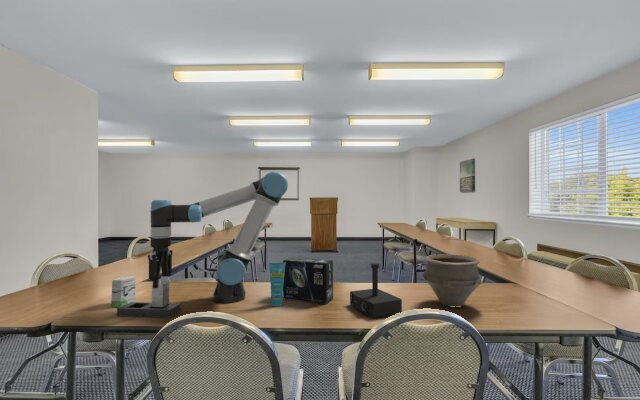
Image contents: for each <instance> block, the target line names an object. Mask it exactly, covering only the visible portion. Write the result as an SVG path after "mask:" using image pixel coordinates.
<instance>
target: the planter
mask: <svg viewBox="0 0 640 400" xmlns="http://www.w3.org/2000/svg"><path fill="white" fill-rule="evenodd" d="M424 260H425V261H426V265H425V271H424V272H423V273H422V278H423V279H424V280H425V281H426V283H427V284H428V285H429V286H430V288H431V289H432V291H433V292H434V294H435V296H436V297H437V299H438V300H439V301H440V303H441V305H442V306H444V305H446V306H445V307H447V306H455V307H456V306H462V305H463V306H464V304H466V301H467V300H468V298H469V297H470V296H471V295H472V294H473V293H474V292H475V290H476V289H477V288H478V287H479V286H480V285H481V284H483V282H482V276H481V275H480V272H479V268H478V264H480V260H479V259H477V258H475V257H472V256H470V255H465V254H464V255H463V254H449V253H440V254H430V255H427V256H425V257H424ZM463 306H462V307H463Z"/></svg>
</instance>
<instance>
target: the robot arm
mask: <svg viewBox="0 0 640 400" xmlns="http://www.w3.org/2000/svg"><path fill="white" fill-rule="evenodd" d="M288 187H289V184H288V180H287V177H286V176H285V175H284V174H282V172H279V171H270V172H268V173H266V174H264V176H263V177H261V178H260V179H257V180H256V181H253V182H251V183H250V185H247V186H243V187H241V188H238V189H235V190H232V191H228V192H225V193H222V194H220V195H217V196H212V197H210V198H207V199H204V200H201V201H198V202H195V203H191V204H172V200H169V199H160V200H159V199H154V200H152V201H151V203H150V210H149V211H150V237H151V238H150V247H151V248H153V249H152V252H151V254H148V255H147V259H148V280H151V281H152V285H153V296H160V295H161V282H169V277H170V276H171V275H172V272H173V271H172V270H173V268H172V266H173V254H174V253H173V252H174V250H173V249H171V250H170V248H169V247H171V245H172V237H171V236H172V223H173V224H174V223H193V224H194V223H200V222H201V221H202V219H203V218H205V217H208V216H210V215H213V214H217V213H220V212H224V211H225V210H228V209H232V208H235V207H237V206H241V205H243V204H246V203H250V202H252V201H254V202H253V205H251V206H252V207H251V208H250V210H249V212H248V214H247V216H246V218H245V220H244V222H243V223H242V226H241V228H240V230H239V231H238V233H237V235H236V236H235V237H236V238H235V240H234V242H233V244H232V246H229V247H227V248H226V250H220V251H218V252H217V256H216V257H217V267H216V276H217V277H216V278H217V280H216V286H215V288H214V290H213V294H212V301H213V302H216V303H222V304H227V303H228V304H230V303H235V302H240V301H243V300H245V299H246V297H247V296H246V293H247V292H246V289H245V286H244V283H243V280H244V277H245V275H246V271H247V268H248V266H249V264H250V262H251V256H250V255H251V252H252V250H253V248H254V247H255V244H256V242H257V240H258V239H259V236H260V234H261V232H262V230H263V228H264V226H265V224H266V222H267V220H268V218H269V216H270V213H271V211H272V210H273V208H274V207H276V206H278V205H279V203H280V201H281V199H282V198H283V196H284V195H285V194H286V192H287V190H288ZM161 275H162V276H161Z"/></svg>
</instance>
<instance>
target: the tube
mask: <svg viewBox="0 0 640 400" xmlns="http://www.w3.org/2000/svg"><path fill="white" fill-rule="evenodd" d="M268 265H269V275H270V305H271V306H272V307H281V306H282V305H283V299H284V298H283V283H284V272H285V265H286V262H283V261H282V262H269V263H268Z"/></svg>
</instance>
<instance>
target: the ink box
mask: <svg viewBox="0 0 640 400" xmlns="http://www.w3.org/2000/svg"><path fill="white" fill-rule="evenodd" d="M136 282H137V277H136V276H133V275H132V276H131V275H126V276H122V277H118V278H114V279H112V281H111V298H110V299H111V302H110V307H112V308H119V307H121V306H124V305H126V304H128V303H130V302H136V285H137V284H136Z"/></svg>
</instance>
